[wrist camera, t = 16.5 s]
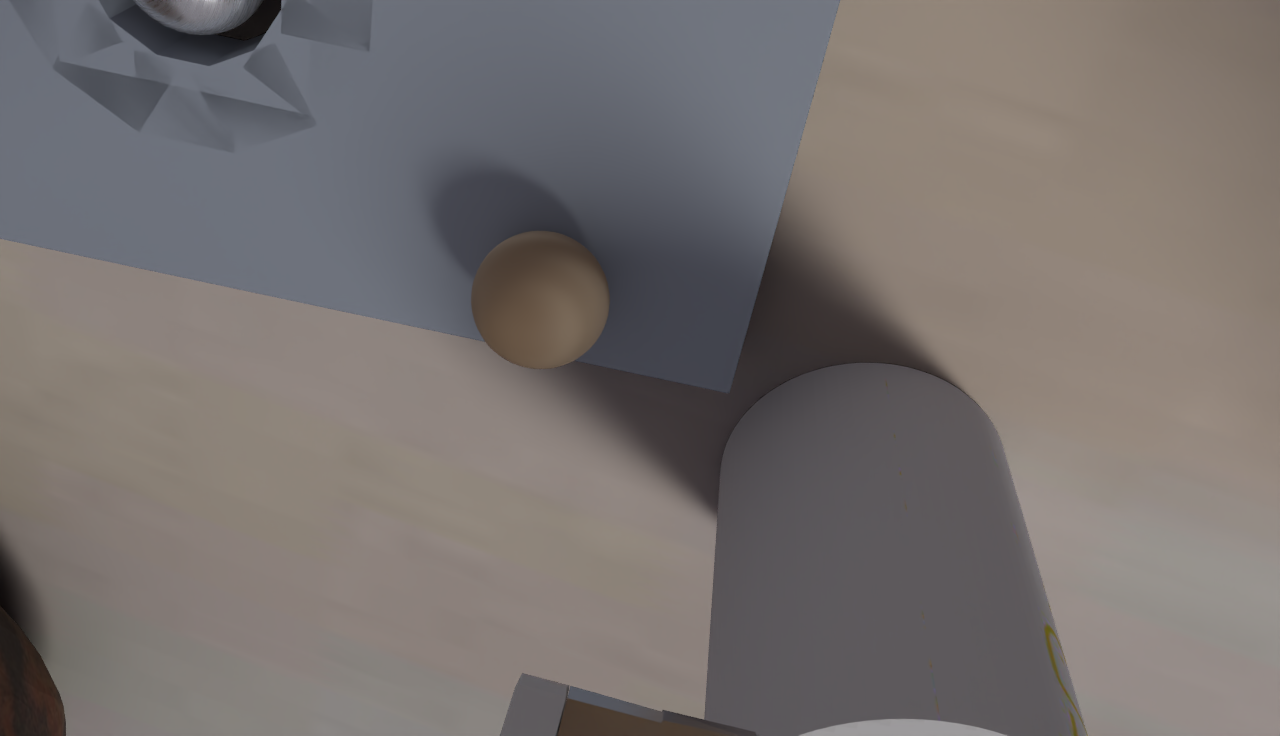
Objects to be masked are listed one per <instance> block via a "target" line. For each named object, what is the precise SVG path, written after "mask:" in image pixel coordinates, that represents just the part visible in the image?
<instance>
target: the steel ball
mask: <svg viewBox="0 0 1280 736" xmlns="http://www.w3.org/2000/svg"><path fill="white" fill-rule="evenodd" d="M133 1H134V2H135V3H136V4H137V5H138V6H139V7H140V8H141V9H142V10H143V11H144V12H145V13H146V14H148V15H149V16H150V17H151V18H152V19H154V20H156V21H157V22H159V23H161V24H162V25H164V26H166V27H169V28H171V29H174V30H176V31H179V32H183V33H188V34H194V35H211V34H217V33H221V32H225V31H228V30H231V29H233V28H235V27H237V26H239V25H241V24H242V23H244V22H245V21H246V20H248V19H249V18H250V17H251V16H252V15H253V14H254V13H255V12H256V11H257V9H258V8H259V7H260V5H261V4H262V2H263V0H133Z"/></svg>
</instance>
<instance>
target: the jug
mask: <svg viewBox="0 0 1280 736" xmlns="http://www.w3.org/2000/svg"><path fill="white" fill-rule="evenodd" d="M0 736H66V721H65V714H64V707H63V703H62V700H61V697H60V694H59V692H58V690H57V688H56V686H55V684H54V682H53V680H52V678H51V676H50V674H49V672H48V670H47V668H46V666H45V664H44V662H43V660H42V658H41V656H40V654H39V653H38V652H37V650H36V649H35V647H34V646H33V645H32V643H31V642H30V640H29V639H28V638H27V636H26V635H25V634H24V632H23V631H22V629H21V628H20V627H19V626H18V625H17V624H16V623H15V622H14V620H13V619H12V618H11V617H10V616H9V615H8V614H7V613H6V612H5V611H4V610H3V608H2V607H1V606H0Z"/></svg>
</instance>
